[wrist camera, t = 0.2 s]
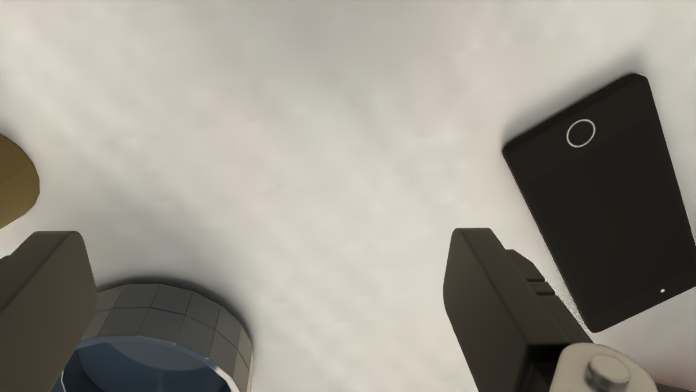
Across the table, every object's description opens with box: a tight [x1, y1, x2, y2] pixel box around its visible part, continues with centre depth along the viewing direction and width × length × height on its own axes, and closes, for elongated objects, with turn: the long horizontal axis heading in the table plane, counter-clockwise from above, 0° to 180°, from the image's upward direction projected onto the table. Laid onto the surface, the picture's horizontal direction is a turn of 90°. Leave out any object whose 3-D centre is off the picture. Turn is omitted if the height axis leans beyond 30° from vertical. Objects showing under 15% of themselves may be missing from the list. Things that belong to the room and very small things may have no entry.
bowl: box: [50, 284, 254, 392], centre depth 31 cm, size 13×13×6 cm
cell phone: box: [502, 74, 696, 333], centre depth 31 cm, size 9×18×1 cm, turn 32°
